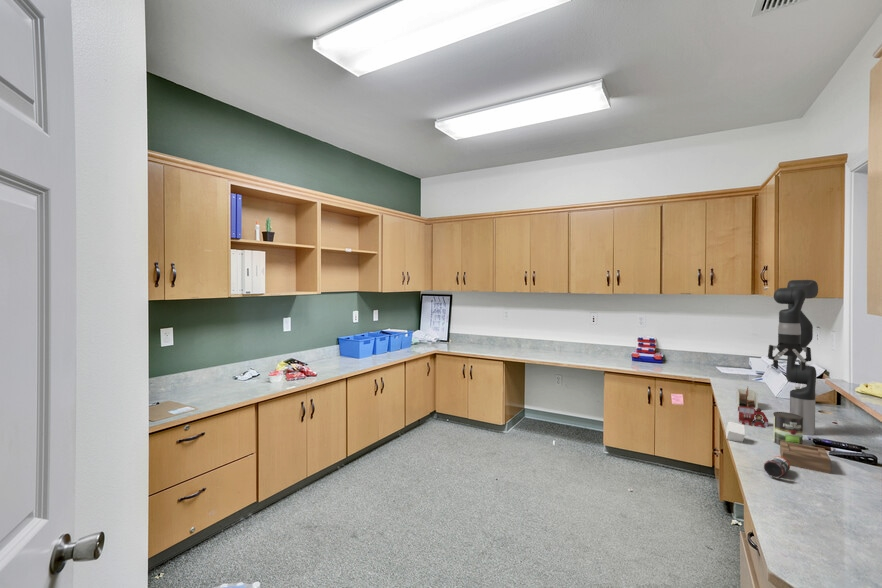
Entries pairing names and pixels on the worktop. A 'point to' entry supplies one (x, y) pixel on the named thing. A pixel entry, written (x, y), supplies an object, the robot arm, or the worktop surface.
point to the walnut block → (806, 456)
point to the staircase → (747, 397)
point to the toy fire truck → (752, 417)
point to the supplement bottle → (777, 466)
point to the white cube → (735, 432)
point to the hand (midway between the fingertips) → (789, 369)
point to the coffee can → (788, 428)
